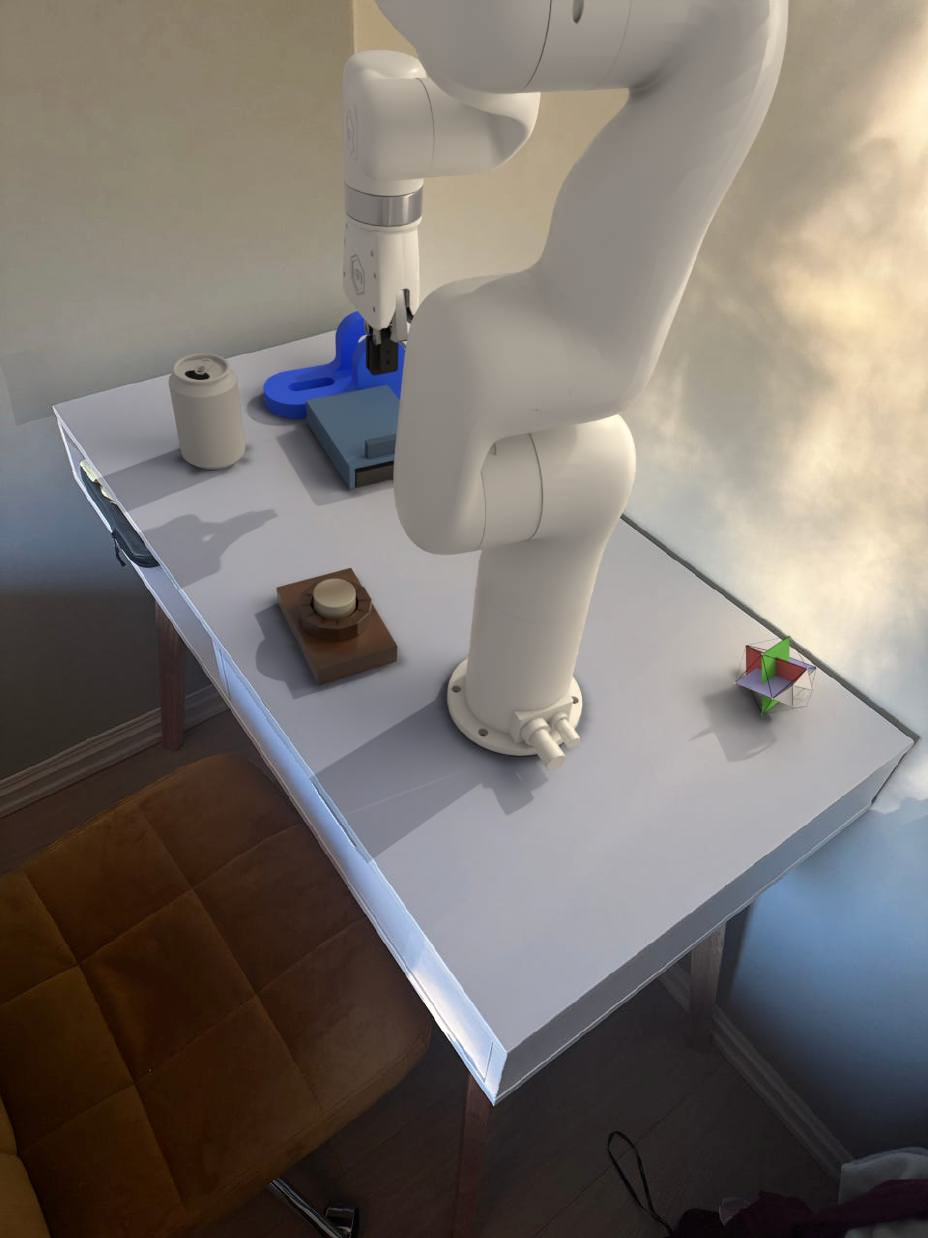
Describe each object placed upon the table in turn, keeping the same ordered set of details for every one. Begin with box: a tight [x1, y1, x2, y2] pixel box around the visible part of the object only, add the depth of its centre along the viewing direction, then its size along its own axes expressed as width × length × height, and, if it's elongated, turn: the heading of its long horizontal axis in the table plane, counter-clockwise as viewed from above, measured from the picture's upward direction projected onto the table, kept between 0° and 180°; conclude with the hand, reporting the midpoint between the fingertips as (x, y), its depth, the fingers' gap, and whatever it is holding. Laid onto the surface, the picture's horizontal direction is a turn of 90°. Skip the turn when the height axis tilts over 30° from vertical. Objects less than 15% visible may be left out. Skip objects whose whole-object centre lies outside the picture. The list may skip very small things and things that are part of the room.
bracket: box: [262, 310, 406, 420], centre depth 117 cm, size 18×8×9 cm, turn 115°
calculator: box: [355, 460, 394, 488], centre depth 111 cm, size 14×9×2 cm, turn 26°
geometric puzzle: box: [733, 634, 818, 716], centre depth 85 cm, size 7×7×8 cm
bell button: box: [313, 579, 356, 620], centre depth 87 cm, size 4×4×2 cm
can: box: [168, 352, 246, 471], centre depth 105 cm, size 8×8×12 cm
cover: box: [306, 385, 400, 490], centre depth 110 cm, size 15×11×5 cm
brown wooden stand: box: [275, 567, 398, 686], centre depth 88 cm, size 12×8×4 cm, turn 26°
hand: (381, 369), depth 101 cm, fingers closed
